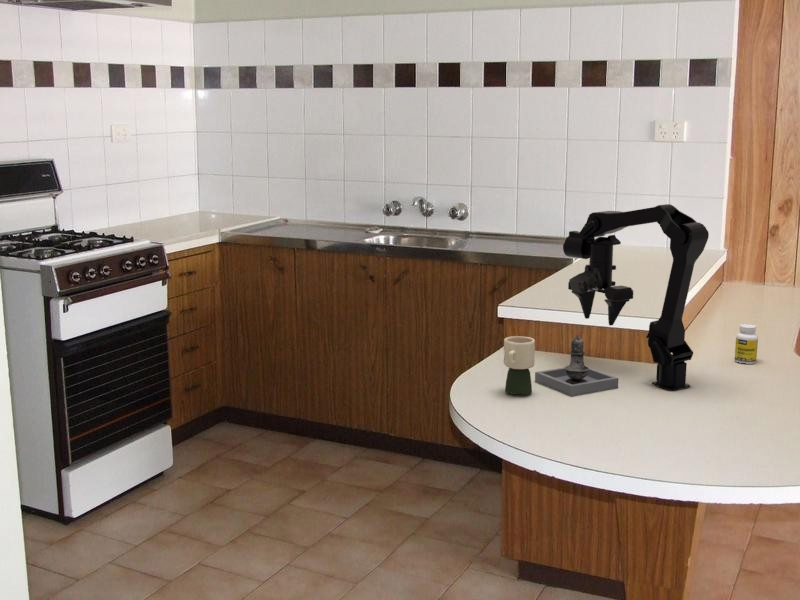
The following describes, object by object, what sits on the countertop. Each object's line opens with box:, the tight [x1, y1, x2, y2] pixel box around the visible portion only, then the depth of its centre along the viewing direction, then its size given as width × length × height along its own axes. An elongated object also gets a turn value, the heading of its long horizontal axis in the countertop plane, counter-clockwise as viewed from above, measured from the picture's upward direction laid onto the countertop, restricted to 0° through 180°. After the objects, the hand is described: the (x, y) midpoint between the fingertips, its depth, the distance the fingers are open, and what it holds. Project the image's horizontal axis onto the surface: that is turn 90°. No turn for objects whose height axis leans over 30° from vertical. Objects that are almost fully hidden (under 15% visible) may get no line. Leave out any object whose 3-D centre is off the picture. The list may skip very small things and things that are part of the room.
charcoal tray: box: [534, 366, 620, 398], centre depth 224 cm, size 14×14×2 cm
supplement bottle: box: [734, 323, 759, 365], centre depth 243 cm, size 5×5×10 cm
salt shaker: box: [564, 333, 590, 385], centre depth 223 cm, size 6×6×12 cm
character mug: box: [503, 335, 536, 396], centre depth 216 cm, size 11×7×13 cm, turn 150°
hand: (598, 321), depth 237 cm, fingers open, 9 cm apart
